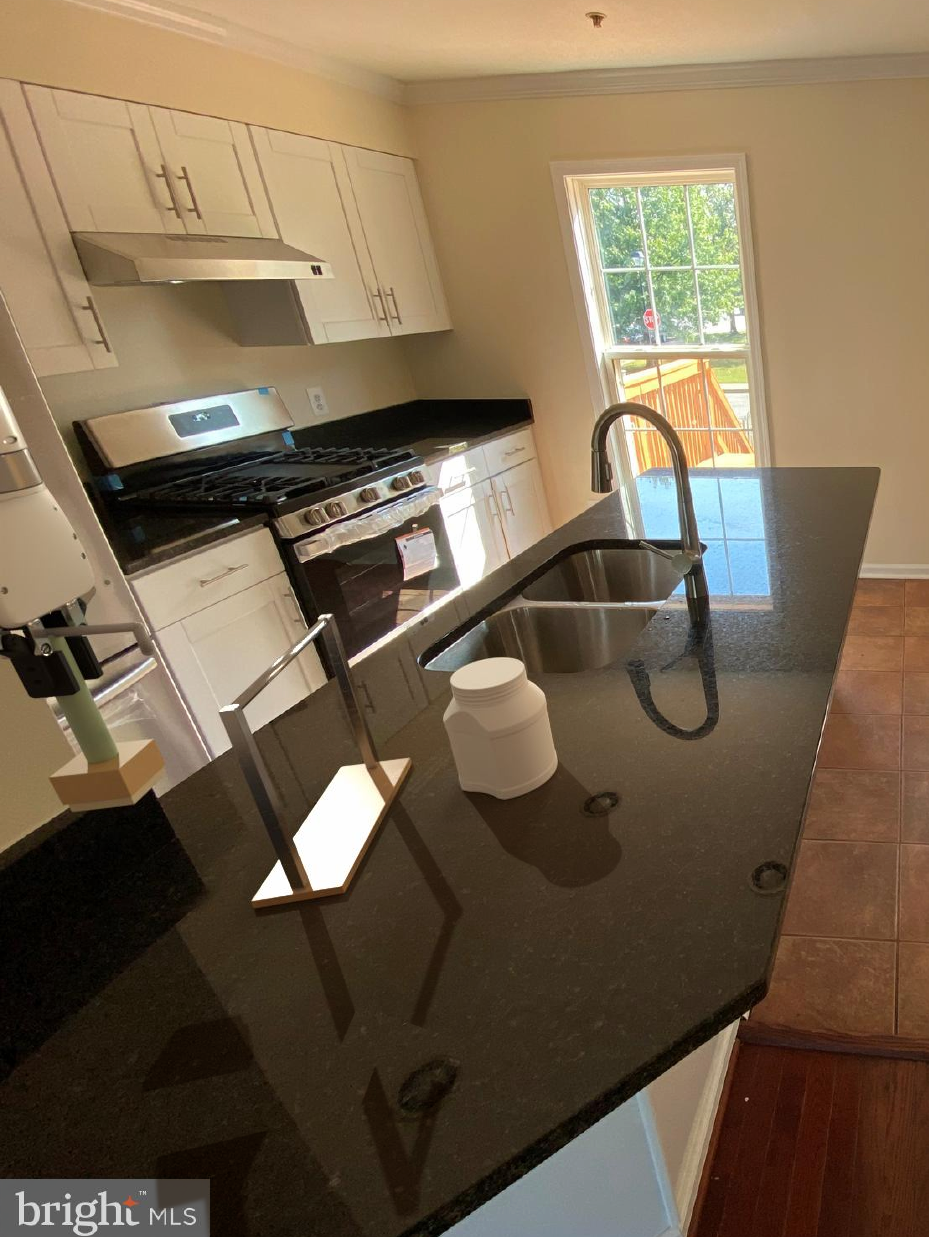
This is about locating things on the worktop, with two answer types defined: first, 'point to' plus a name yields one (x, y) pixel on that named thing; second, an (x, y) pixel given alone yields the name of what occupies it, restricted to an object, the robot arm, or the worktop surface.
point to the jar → (499, 729)
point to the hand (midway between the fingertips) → (68, 685)
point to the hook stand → (102, 739)
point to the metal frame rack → (343, 811)
